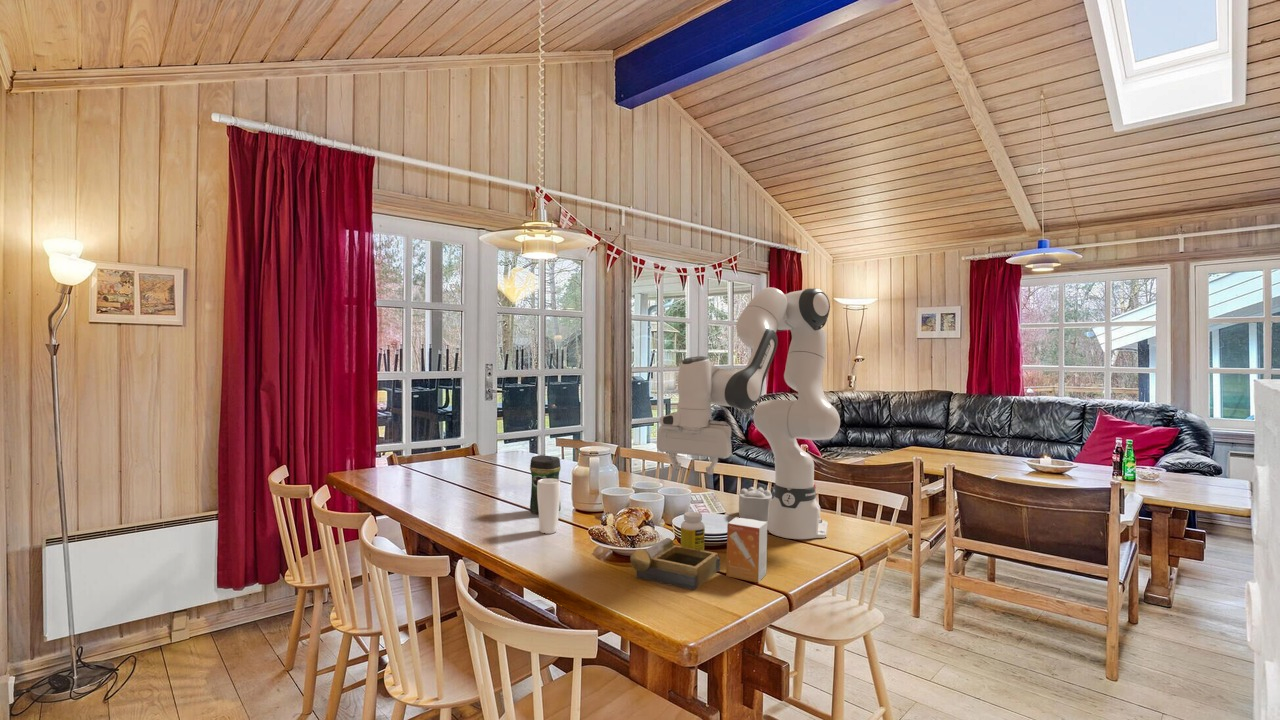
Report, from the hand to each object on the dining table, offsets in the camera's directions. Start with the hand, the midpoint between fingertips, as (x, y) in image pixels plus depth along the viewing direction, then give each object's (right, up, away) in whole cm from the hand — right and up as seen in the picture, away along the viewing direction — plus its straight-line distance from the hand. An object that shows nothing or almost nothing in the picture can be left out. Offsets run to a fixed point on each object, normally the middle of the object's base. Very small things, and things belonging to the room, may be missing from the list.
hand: (693, 472), depth 161 cm
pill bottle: (0, -22, +1) cm, 22 cm away
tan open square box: (-5, -22, -12) cm, 26 cm away
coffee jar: (-45, -21, +41) cm, 64 cm away
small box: (+12, -23, -13) cm, 29 cm away
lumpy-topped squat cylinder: (+24, -22, +40) cm, 51 cm away
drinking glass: (-41, -21, +20) cm, 50 cm away
